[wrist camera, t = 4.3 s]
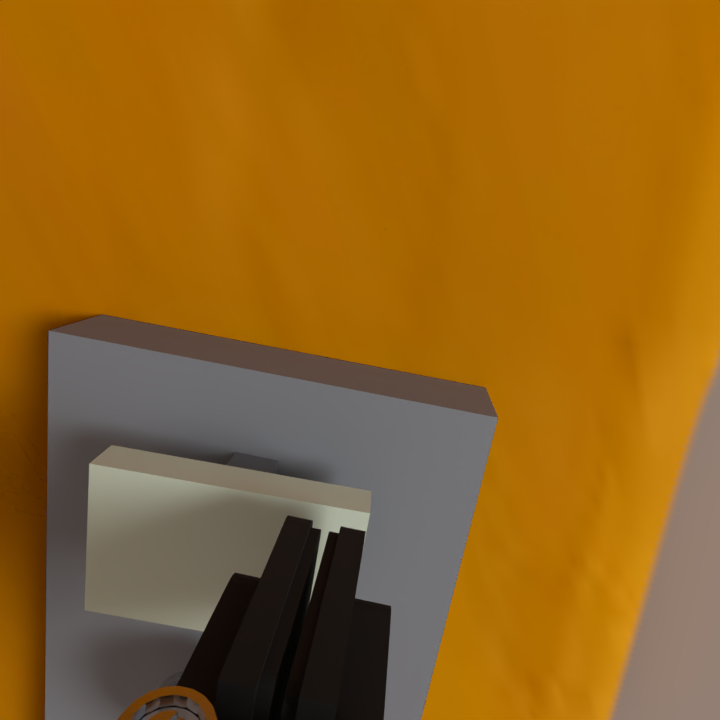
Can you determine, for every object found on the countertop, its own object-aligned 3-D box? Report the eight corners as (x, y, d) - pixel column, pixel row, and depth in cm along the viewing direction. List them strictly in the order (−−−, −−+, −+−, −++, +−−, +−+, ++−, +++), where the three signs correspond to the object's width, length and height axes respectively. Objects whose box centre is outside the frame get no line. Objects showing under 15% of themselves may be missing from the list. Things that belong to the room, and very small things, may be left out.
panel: (102, 314, 16) (21, 338, 13) (485, 387, 16) (504, 432, 12) (84, 786, 22) (24, 889, 18) (370, 856, 21) (362, 976, 18)
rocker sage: (111, 444, 13) (89, 463, 12) (371, 490, 13) (370, 513, 12) (105, 583, 14) (84, 610, 13) (345, 625, 14) (341, 656, 13)
